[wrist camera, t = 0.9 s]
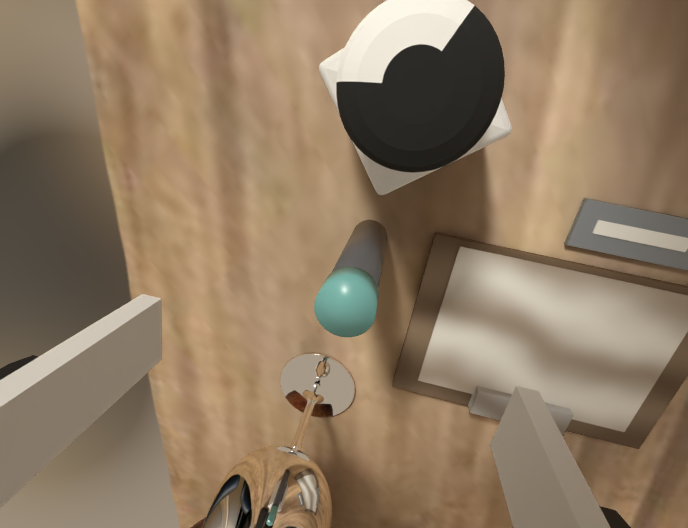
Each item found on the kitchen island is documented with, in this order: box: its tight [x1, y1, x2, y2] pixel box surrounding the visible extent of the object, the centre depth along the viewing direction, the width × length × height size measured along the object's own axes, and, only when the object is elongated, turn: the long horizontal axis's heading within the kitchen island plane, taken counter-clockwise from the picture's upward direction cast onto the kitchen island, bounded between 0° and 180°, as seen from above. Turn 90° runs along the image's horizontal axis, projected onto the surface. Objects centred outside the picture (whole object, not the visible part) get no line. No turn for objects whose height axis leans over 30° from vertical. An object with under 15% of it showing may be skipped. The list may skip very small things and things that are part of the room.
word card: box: [565, 198, 688, 270], centre depth 26 cm, size 4×9×1 cm, turn 80°
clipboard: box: [392, 233, 688, 449], centre depth 29 cm, size 15×22×2 cm
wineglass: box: [202, 353, 355, 528], centre depth 26 cm, size 8×8×20 cm
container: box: [319, 0, 511, 195], centre depth 19 cm, size 8×8×13 cm
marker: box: [314, 220, 387, 337], centre depth 23 cm, size 3×3×13 cm
